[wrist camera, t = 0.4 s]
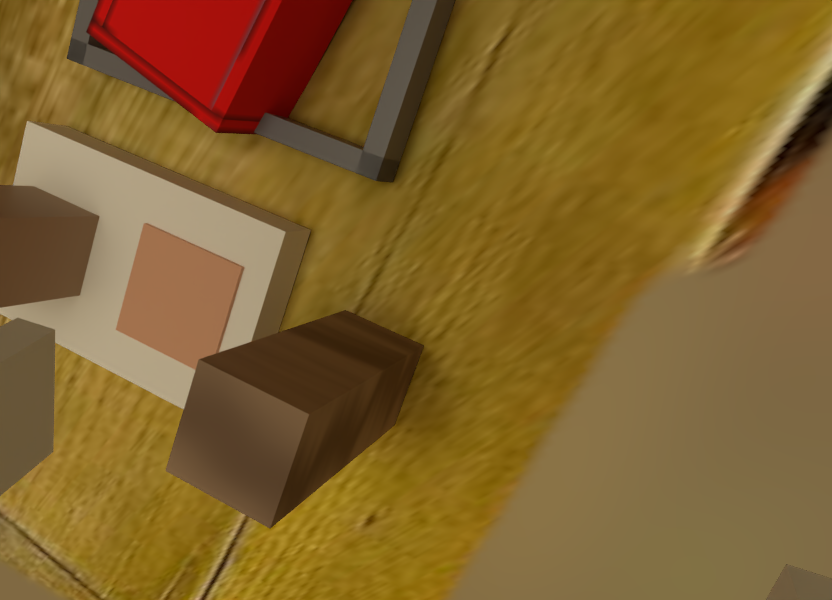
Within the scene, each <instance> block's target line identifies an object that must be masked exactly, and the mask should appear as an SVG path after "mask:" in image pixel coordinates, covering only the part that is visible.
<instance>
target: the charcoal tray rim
mask: <svg viewBox="0 0 832 600" xmlns="http://www.w3.org/2000/svg"><path fill="white" fill-rule="evenodd" d="M98 1H99V0H80V2H79V7H78V11H77V15H76V20H75V24H74V29H73V33H72V37H71V42H70V46H69V51H68V55H67V59H69V60H72V61H74V62H77V63H79V64H82V65H84V66H87V67H90V68H92V69H95V70H97V71H100V72H102V73H105V74H107V75H110V76H112V77H115V78H117V79H120V80H122V81H125V82H127V83H130V84H133V85H135V86H138V87H140V88H143V89H145V90H148V91H150V92H153V93H155V94H158V95H160V96H163V97H165V98H168V99H170V100H173V99H172V98H171V97H169V96H168V95H167V94H165V93H164V92H163V91H162V90H160V89H159V88H158V87H156V86H155V85H154V84H152V83H151V82H150V81H149V80H147V79H146V78H145V77H143V76H142V75H141V74H140V73H138V72H137V71H136V70H134V69H133V68H132V67H131V66H129V65H128V64H127V63H125V62H124V61H123V60H121V59H120V58H119V57H118V56H116V55H115V54H114V53H112V52H111V51H110V50H109V49H107V48H106V47H105V46H103V45H102V44H101V43H99V42H98V41H97V40H96V39H94V38H93V37H92V36H90V35H89V34H88V33H87V32H86V31H87V28H88V26H89V23H90V21H91V18H92V16H93V13H94V11H95V8H96V6H97V3H98ZM454 3H455V0H412V3H411V6H410V9H409V12H408V15H407V18H406V21H405V24H404V27H403V30H402V33H401V36H400V39H399V42H398V46H397V49H396V52H395V55H394V58H393V61H392V64H391V67H390V70H389V73H388V76H387V79H386V82H385V85H384V88H383V91H382V94H381V97H380V100H379V103H378V106H377V109H376V112H375V115H374V118H373V121H372V124H371V127H370V130H369V133H368V136H367V139H366V142H365V145H364V147H362V146H360V145H357V144H354V143H352V142H349V141H347V140H344V139H341V138H339V137H336V136H334V135H331V134H328V133H326V132H323V131H321V130H318V129H315V128H313V127H310V126H308V125H305V124H302V123H300V122H297V121H295V120H292V119H289V118H286V117H282V116H278V115H274V114H269V113H265V114H264V115H263V117H262V119H261V121H260V122H259V124H258V126H257V128H256V129H255V131H254V133H256V134H259V135H261V136H264V137H266V138H269V139H272V140H274V141H277V142H279V143H282V144H284V145H287V146H289V147H292V148H294V149H297V150H299V151H302V152H304V153H307V154H309V155H312V156H315V157H317V158H320V159H322V160H325V161H327V162H330V163H332V164H335V165H337V166H340V167H342V168H345V169H347V170H350V171H352V172H355V173H357V174H360V175H363V176H365V177H368V178H370V179H373V180H375V181H384V182H393V180H394V177H395V174H396V171H397V169H398V166H399V163H400V160H401V157H402V154H403V151H404V148H405V145H406V142H407V139H408V137H409V134H410V131H411V128H412V125H413V122H414V119H415V116H416V113H417V110H418V107H419V105H420V102H421V99H422V96H423V93H424V90H425V87H426V84H427V81H428V78H429V75H430V72H431V70H432V67H433V64H434V61H435V58H436V55H437V52H438V49H439V46H440V43H441V40H442V38H443V35H444V32H445V29H446V26H447V23H448V20H449V17H450V14H451V11H452V8H453V6H454ZM173 101H174V100H173ZM175 102H176V101H175Z"/></svg>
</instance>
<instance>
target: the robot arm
mask: <svg viewBox="0 0 832 600" xmlns="http://www.w3.org/2000/svg"><path fill="white" fill-rule="evenodd" d="M54 376H55V329H52V328H49V327H46V326H43V325H40V324H36V323H33V322H30V321H27V320H24V319H21V318H18V317H17V318H16V319H14V320H12V321H10V322H8V323H6V324H5V325H3V326H1V327H0V496H1V495H2V494H3V493H4V492H5V491H7V490H8V489H9V488H10V487H11V486H13V485H14V484H15V483H16V482H17V481H19V480H20V479H21V478H22V477H23V476H25V475H26V474H27V473H28V472H29V471H31V470H32V469H33V468H34V467H35V466H37V465H38V464H39V463H40V462H41V461H43V460H44V459H45V458H46V457H47V456H49V455H50V454H51V453H52V452H53V435H54ZM766 600H832V579H831V578H828V577H825V576H822V575H819V574H816V573H813V572H809V571H807V570H803V569H800V568H797V567H794V566H791V565H788V564H786V566H785V567H784V569H783V571H782V573H781V574H780V576H779V578H778V580H777V581H776V583H775V585H774V587H773V589H772V590H771V592H770V594H769V595H768V597H767V599H766Z"/></svg>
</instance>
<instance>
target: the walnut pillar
mask: <svg viewBox="0 0 832 600" xmlns="http://www.w3.org/2000/svg"><path fill="white" fill-rule="evenodd" d="M423 347H424V345H421V344H419V343H417V342H415V341H412V340H410V339H408V338H406V337H404V336H401V335H399V334H397V333H395V332H392V331H390V330H388V329H386V328H384V327H381V326H379V325H377V324H375V323H373V322H370V321H368V320H366V319H364V318H361V317H359V316H357V315H355V314H353V313H350V312H348V311H346V310H345V311H342V312H339V313H336V314H333V315H330V316H327V317H324V318H321V319H318V320H315V321H312V322H309V323H306V324H303V325H300V326H297V327H294V328H291V329H288V330H285V331H282V332H279V333H276V334H273V335H270V336H267V337H264V338H261V339H258V340H255V341H252V342H249V343H246V344H243V345H240V346H237V347H234V348H231V349H228V350H225V351H222V352H219V353H216V354H213V355H210V356H207V357H204V358H201V359H199V360H198V363H197V367H196V370H195V373H194V377H193V380H192V384H191V387H190V390H189V394H188V397H187V400H186V404H185V407H184V410H183V414H182V417H181V421H180V424H179V427H178V431H177V434H176V437H175V441H174V444H173V447H172V451H171V454H170V458H169V461H168V464H167V468H166V471H167V472H169V473H171V474H172V475H174V476H176V477H178V478H180V479H182V480H183V481H185V482H187V483H189V484H191V485H192V486H194V487H196V488H198V489H200V490H201V491H203V492H205V493H207V494H209V495H211V496H212V497H214V498H216V499H218V500H220V501H221V502H223V503H225V504H227V505H229V506H230V507H232V508H234V509H236V510H238V511H239V512H241V513H243V514H245V515H247V516H249V517H250V518H252V519H254V520H256V521H258V522H259V523H261V524H263V525H265V526H267V527H268V528H271V527H272V526H274V525H275V524H276V523H277V522H278V521H280V520H281V519H282V518H283V517H285V516H286V515H287V514H288V513H289V512H291V511H292V510H293V509H294V508H295V507H297V506H298V505H299V504H300V503H301V502H303V501H304V500H305V499H306V498H307V497H309V496H310V495H311V494H312V493H313V492H315V491H316V490H317V489H318V488H319V487H321V486H322V485H323V484H324V483H325V482H327V481H328V480H329V479H330V478H331V477H333V476H334V475H335V474H336V473H337V472H339V471H340V470H341V469H342V468H343V467H345V466H346V465H347V464H348V463H349V462H351V461H352V460H353V459H354V458H356V457H357V456H358V455H359V454H360V453H362V452H363V451H364V450H365V449H366V448H368V447H369V446H370V445H371V444H372V443H374V442H375V441H376V440H377V439H378V438H380V437H381V436H382V435H383V434H384V433H386V432H387V431H388V430H389V429H390V428H392V427H393V426H394V425H395V422H396V419H397V417H398V414H399V411H400V409H401V406H402V403H403V401H404V398H405V395H406V393H407V390H408V387H409V385H410V382H411V379H412V377H413V374H414V371H415V369H416V366H417V363H418V361H419V358H420V355H421V353H422V350H423Z"/></svg>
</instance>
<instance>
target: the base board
mask: <svg viewBox="0 0 832 600" xmlns="http://www.w3.org/2000/svg"><path fill="white" fill-rule="evenodd" d="M310 232H311V230H310V229H307V228H305V227H303V226H300V225H298V224H296V223H293V222H291V221H288V220H286V219H284V218H281V217H279V216H277V215H274V214H272V213H270V212H267V211H265V210H263V209H260V208H258V207H256V206H253V205H251V204H249V203H246V202H244V201H241V200H239V199H237V198H234V197H232V196H230V195H227V194H225V193H223V192H220V191H218V190H216V189H213V188H211V187H209V186H206V185H204V184H201V183H199V182H197V181H194V180H192V179H190V178H187V177H185V176H183V175H180V174H178V173H176V172H173V171H171V170H169V169H166V168H164V167H161V166H159V165H157V164H154V163H152V162H150V161H147V160H145V159H143V158H140V157H138V156H136V155H133V154H131V153H129V152H126V151H124V150H121V149H119V148H117V147H114V146H112V145H110V144H107V143H105V142H103V141H100V140H98V139H96V138H93V137H91V136H89V135H86V134H84V133H81V132H79V131H77V130H74V129H72V128H70V127H67V126H63V125H55V124H48V123H40V122H33V121H27V124H26V129H25V133H24V138H23V142H22V147H21V151H20V156H19V161H18V165H17V170H16V174H15V179H14V183H13V185H0V314H2V315H4V316H6V317H7V318H9V319H11V320H14V319H16V318H17V317H18V318H21V319H24V320H27V321H30V322H33V323H36V324H40V325H43V326H46V327H49V328H52V329H55V343H57V344H59V345H61V346H63V347H65V348H67V349H69V350H71V351H73V352H75V353H76V354H78V355H80V356H82V357H84V358H86V359H88V360H90V361H92V362H94V363H96V364H98V365H99V366H101V367H103V368H105V369H107V370H109V371H111V372H113V373H115V374H117V375H119V376H121V377H122V378H124V379H126V380H128V381H130V382H132V383H134V384H136V385H138V386H140V387H142V388H144V389H145V390H147V391H149V392H151V393H153V394H155V395H157V396H159V397H161V398H163V399H165V400H167V401H168V402H170V403H172V404H174V405H176V406H178V407H180V408H182V409H184V407H185V404H186V400H187V397H188V394H189V390H190V387H191V384H192V380H193V377H194V373H195V370H196V367H197V363H198V360H199V359H201V358H204V357H207V356H210V355H213V354H216V353H219V352H222V351H225V350H228V349H231V348H234V347H237V346H240V345H243V344H246V343H249V342H252V341H255V340H258V339H261V338H264V337H267V336H270V335H273V334H276V333H278V331H279V328H280V325H281V322H282V319H283V316H284V313H285V310H286V306H287V303H288V300H289V297H290V294H291V291H292V288H293V285H294V282H295V278H296V275H297V272H298V269H299V266H300V263H301V260H302V257H303V254H304V250H305V247H306V244H307V241H308V238H309V235H310Z"/></svg>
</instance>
